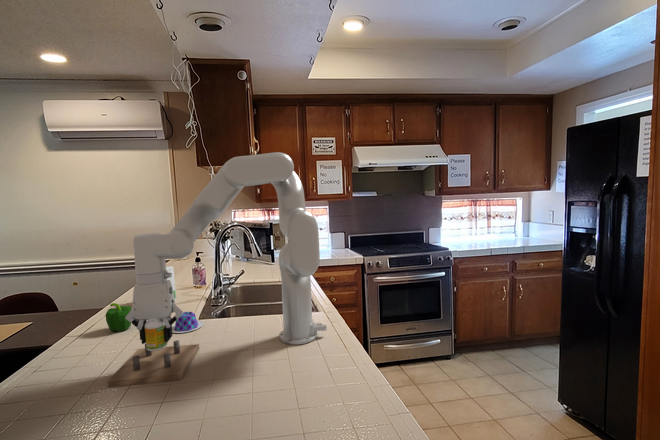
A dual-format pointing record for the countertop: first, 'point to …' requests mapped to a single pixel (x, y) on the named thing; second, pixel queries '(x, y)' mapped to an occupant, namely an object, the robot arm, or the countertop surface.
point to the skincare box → (172, 278)
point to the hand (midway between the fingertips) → (156, 340)
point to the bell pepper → (118, 317)
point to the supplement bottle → (155, 334)
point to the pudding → (186, 323)
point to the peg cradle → (155, 365)
